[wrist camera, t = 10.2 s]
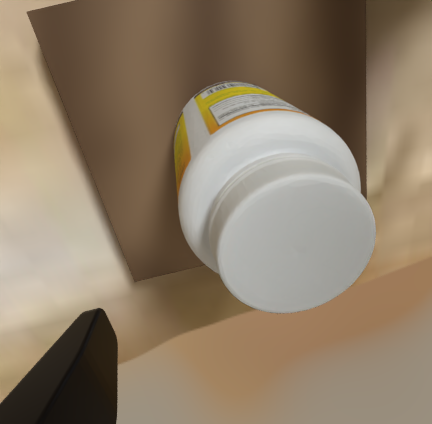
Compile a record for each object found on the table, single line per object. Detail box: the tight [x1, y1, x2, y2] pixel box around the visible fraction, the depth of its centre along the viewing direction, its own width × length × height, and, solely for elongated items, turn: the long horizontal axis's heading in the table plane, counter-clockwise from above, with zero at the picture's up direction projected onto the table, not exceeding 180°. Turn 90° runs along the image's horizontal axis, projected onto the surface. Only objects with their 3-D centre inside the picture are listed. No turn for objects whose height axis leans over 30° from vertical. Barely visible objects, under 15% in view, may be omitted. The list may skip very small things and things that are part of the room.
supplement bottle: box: [174, 81, 376, 313], centre depth 13 cm, size 6×6×10 cm
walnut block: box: [27, 0, 367, 282], centre depth 18 cm, size 14×14×2 cm
